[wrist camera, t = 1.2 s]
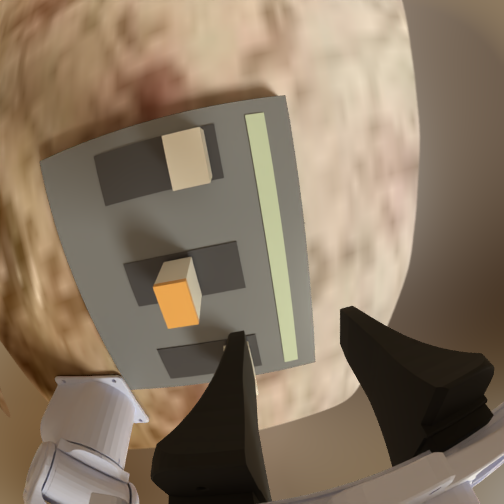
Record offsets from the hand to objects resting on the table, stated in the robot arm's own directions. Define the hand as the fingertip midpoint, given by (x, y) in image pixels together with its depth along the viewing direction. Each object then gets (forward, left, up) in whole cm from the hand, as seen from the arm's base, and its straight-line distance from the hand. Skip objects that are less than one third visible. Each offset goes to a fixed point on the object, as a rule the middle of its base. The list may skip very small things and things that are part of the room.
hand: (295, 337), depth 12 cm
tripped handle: (-6, 0, -8) cm, 10 cm away
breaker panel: (-6, 0, -10) cm, 12 cm away
